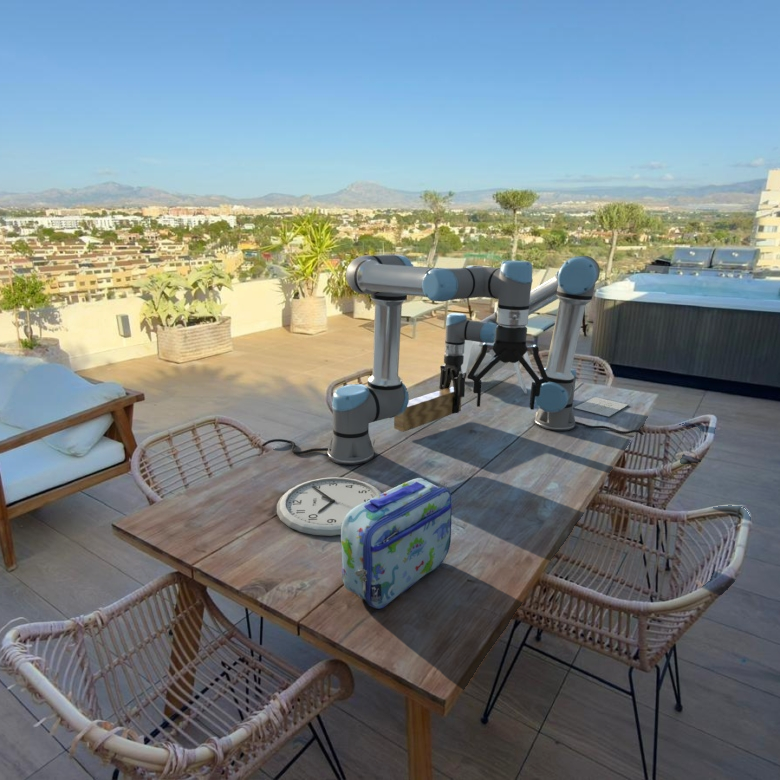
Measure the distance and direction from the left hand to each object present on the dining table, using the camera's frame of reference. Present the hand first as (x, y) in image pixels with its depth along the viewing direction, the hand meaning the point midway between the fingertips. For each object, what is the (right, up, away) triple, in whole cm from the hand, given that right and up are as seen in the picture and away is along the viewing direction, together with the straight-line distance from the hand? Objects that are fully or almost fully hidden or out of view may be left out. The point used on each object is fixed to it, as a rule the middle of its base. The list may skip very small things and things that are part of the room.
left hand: (504, 406), depth 135 cm
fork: (-17, -27, +10) cm, 33 cm away
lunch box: (-28, -37, -22) cm, 51 cm away
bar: (-15, -7, +65) cm, 67 cm away
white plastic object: (+18, +6, +116) cm, 117 cm away
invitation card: (+62, -3, +91) cm, 110 cm away
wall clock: (-45, -27, +8) cm, 54 cm away
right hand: (-6, -4, +73) cm, 74 cm away
